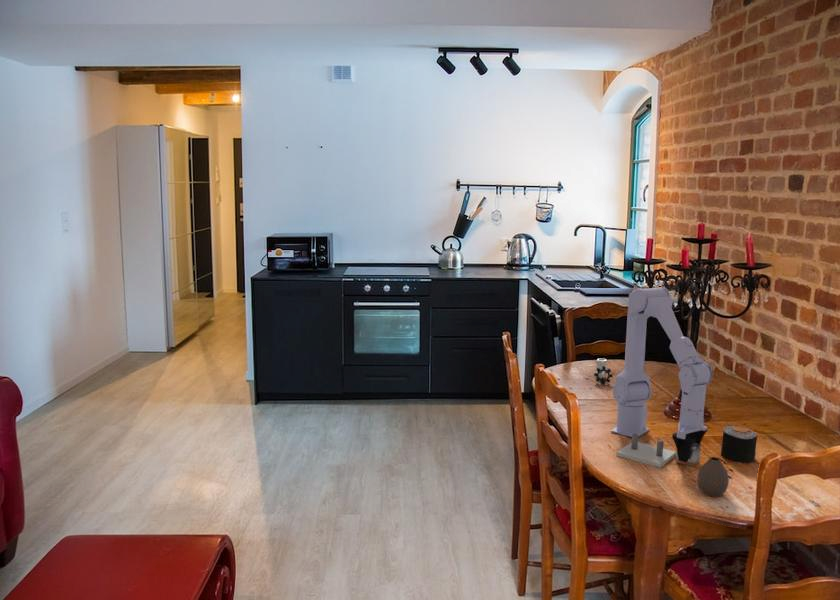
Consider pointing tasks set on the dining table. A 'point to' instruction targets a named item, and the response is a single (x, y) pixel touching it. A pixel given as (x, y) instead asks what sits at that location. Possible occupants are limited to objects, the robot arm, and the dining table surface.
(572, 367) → the dining table surface
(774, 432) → the dining table surface
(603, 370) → the valve
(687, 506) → the dining table surface
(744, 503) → the dining table surface
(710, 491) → the vase
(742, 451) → the sushi
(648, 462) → the pin board
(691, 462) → the sleeve
